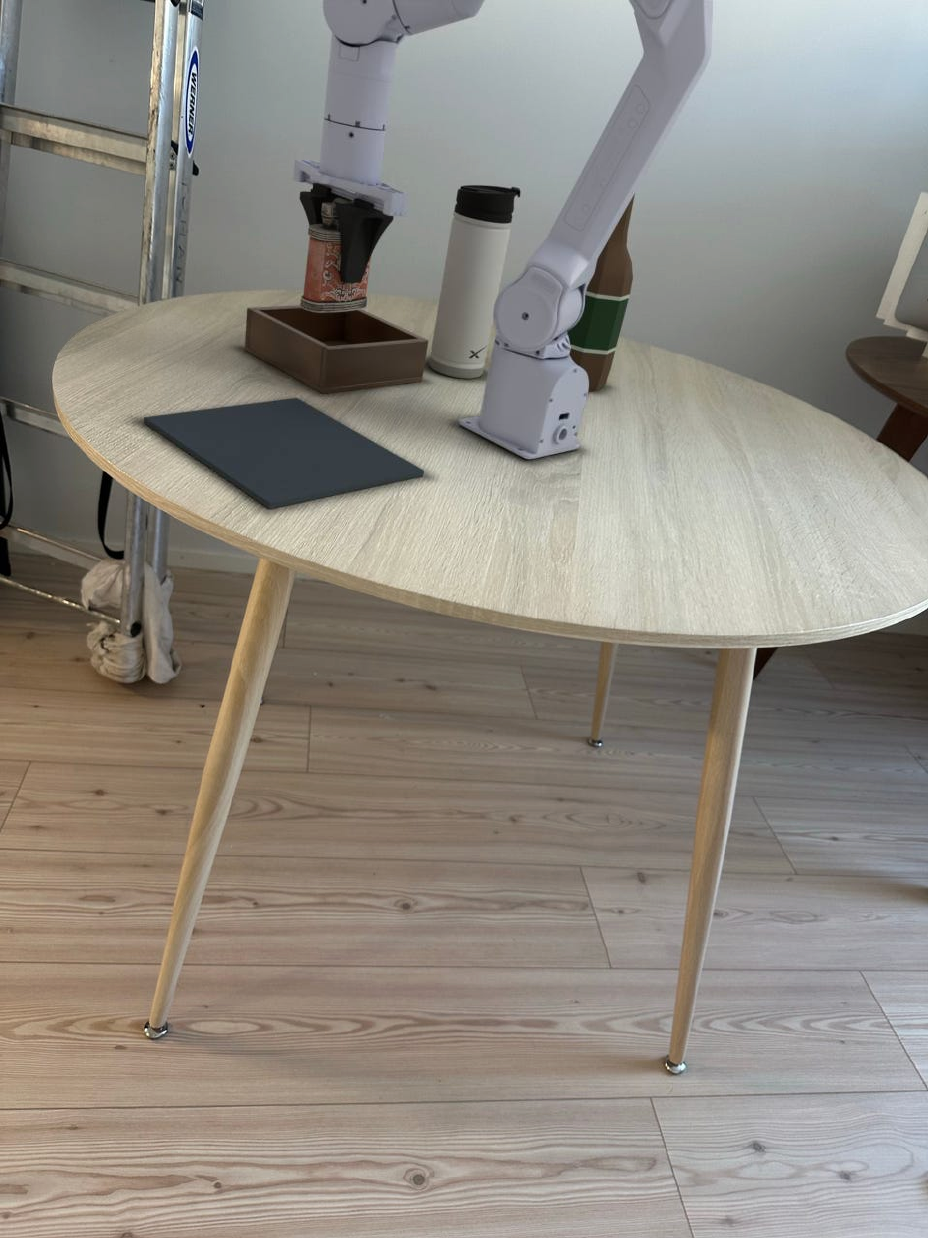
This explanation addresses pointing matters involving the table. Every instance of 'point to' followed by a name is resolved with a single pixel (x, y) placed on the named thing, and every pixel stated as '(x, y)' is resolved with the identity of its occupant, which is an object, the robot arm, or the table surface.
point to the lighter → (330, 268)
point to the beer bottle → (604, 307)
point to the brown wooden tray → (335, 347)
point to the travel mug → (471, 279)
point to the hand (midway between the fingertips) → (338, 276)
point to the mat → (283, 450)
